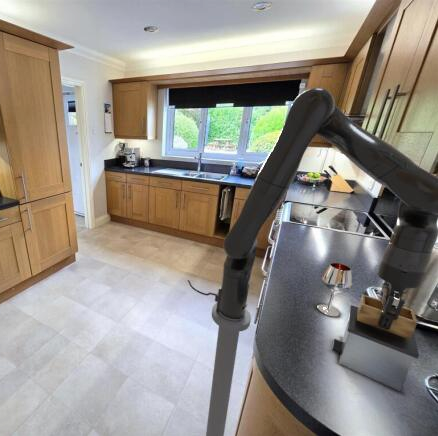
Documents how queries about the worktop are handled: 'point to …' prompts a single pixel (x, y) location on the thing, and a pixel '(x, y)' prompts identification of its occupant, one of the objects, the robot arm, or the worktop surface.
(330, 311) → the wineglass
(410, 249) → the robot arm
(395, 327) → the open wooden box
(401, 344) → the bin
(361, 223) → the worktop surface
